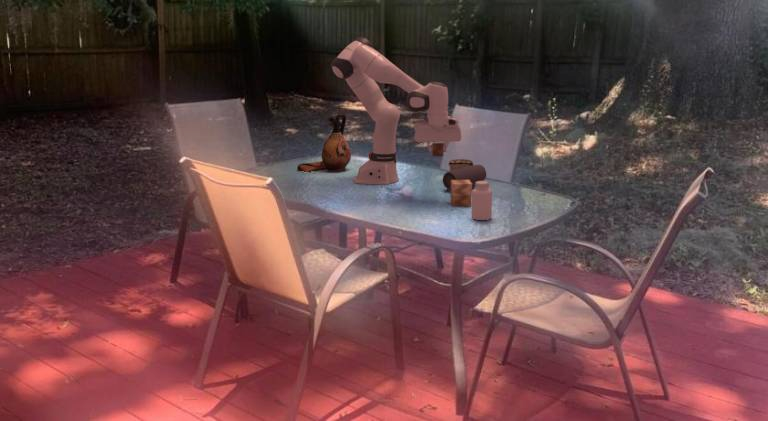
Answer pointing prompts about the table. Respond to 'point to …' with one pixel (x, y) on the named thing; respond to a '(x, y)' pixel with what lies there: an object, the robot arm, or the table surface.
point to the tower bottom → (461, 200)
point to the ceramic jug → (336, 146)
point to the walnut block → (437, 149)
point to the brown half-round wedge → (459, 163)
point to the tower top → (461, 187)
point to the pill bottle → (481, 201)
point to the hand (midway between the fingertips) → (437, 151)
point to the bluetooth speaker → (465, 175)
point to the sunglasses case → (312, 166)
